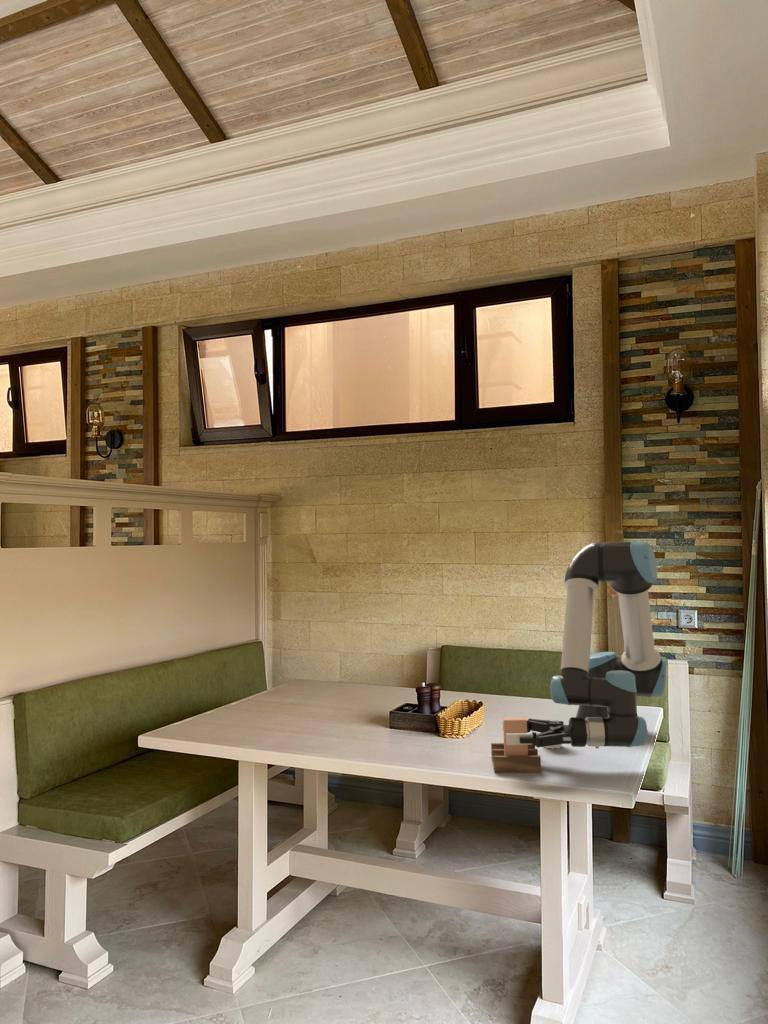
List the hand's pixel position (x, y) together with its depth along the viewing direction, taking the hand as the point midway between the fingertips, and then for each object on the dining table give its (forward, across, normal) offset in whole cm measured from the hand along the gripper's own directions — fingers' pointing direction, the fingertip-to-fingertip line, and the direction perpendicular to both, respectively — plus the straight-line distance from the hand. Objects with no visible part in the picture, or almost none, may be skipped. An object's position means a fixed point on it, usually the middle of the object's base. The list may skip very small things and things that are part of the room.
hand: (504, 732), depth 209 cm
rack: (-3, +3, -9) cm, 10 cm away
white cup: (-15, +21, -10) cm, 28 cm away
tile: (-3, 0, -8) cm, 9 cm away
